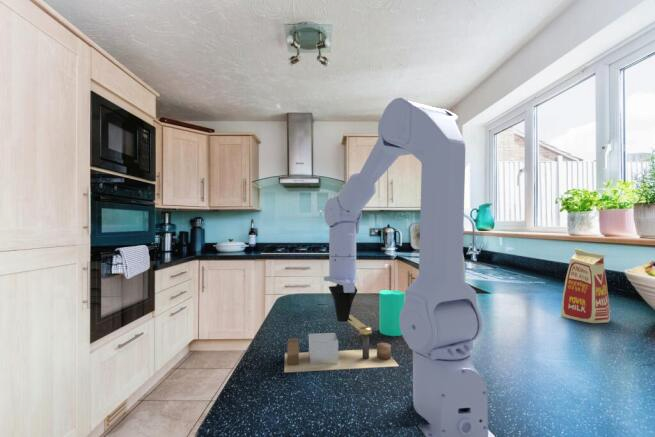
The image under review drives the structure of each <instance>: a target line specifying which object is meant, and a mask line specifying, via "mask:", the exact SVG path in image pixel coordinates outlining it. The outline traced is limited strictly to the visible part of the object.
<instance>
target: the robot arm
mask: <svg viewBox="0 0 655 437" xmlns="http://www.w3.org/2000/svg"><path fill="white" fill-rule="evenodd" d="M377 135H378V138H377V140H376V142H375V144H374V146H373V148H372V149H371V150H370V151H371V152H370V153H369V155H368V157H367V158H366V161H365V162H364V164H363V166H362V168H361V170H360V171H359V172H356V173H353V174H351V175H350V177H349V178H348V180H347V181H346V183H345V185H344V186H343V187H342V189H341V190H340V192H339V193H338V195H336V196H334V197H330V198H329V199H327V201H326V203H325V206H324V212H323V214H324V215H323V216H324V221H325V223H326V225H327V226H328V227H329V231H328V233H329V239H328V240H329V244H328V245H329V247H328V249H329V250H328V251H329V256H328V257H329V260H328V262H329V267H328V268H329V269H328V272H329V274H328V275H327V276H323V281H324V282H330V283H334V284H336V285H331V286H328V289H329V291H330V294H331V296H332V300H333V303H334V304H333V305H334V309H335V315H336V320H337V321H338V322H339V323H340V322H348V319H349V315H351V309H352V305H353V302H354V299H355V296H356V295H357V293H358V288H357V287H356V283H357V282H358V277H357V235H359V230H360V229H359V228H360V224H361V221H362V218H363V217H362V216H363V212H362V211H363V210H364V208H365V207H366V206H367V204H368V203H369V202H370V200H371V199H372V197H373V196H374V195H375V194H376V192H377V187H376V186H377V185H376V183H377V182H378V180H380V178H382V176H383V175H384V174H385V173H386V172H387V170H388V169H389V168H391V166H392V165H393V164H394V163H395V161H396V160H397V159H398V158H399V157H401V156H407V155H413V156H414V158H416V159H417V160H419V162H420V163H421V174H420V175H421V177H420V182H421V183H420V208H419V210H420V218H419V219H420V220H419V247H418V248H419V251H418V252H419V253H418V254H419V255H418V256H419V257H418V258H419V259H418V276H416V278H415V279H414V280H413V281H412V282H411V283H410V285H408V287H407V288H406V289H405V291H404V293H405V302H404V305H403V308H402V310H401V313H400V330H401V333H402V335H401V336H402V338H403V340H404V341H405V343H406V344H407V345H408V348H409V349H410V350H411V351H412V384H413V385H412V388H413V389H412V391H413V392H412V394H413V396H412V398H413V399H412V400H413V401H412V402H413V403H412V404H413V408H414V410H415V411H416V413H417V414H418V415H420V417H422V418H423V419H425V420H426V421H427V422H428V423H427V424H420V425H418V428H419V429H420V431H421V433H422V434H423V435H424V437H496V436H495V435H494V434H493V433H492V432H491V431H490V429H489V417H488V416H489V415H488V414H489V413H488V412H489V411H488V409H489V408H488V404H489V403H488V387H487V383H486V382H485V380H484V378H483V377H482V375H481V374H480V373H479V372H478V370H477V369H476V368H475V366H474V363H473V362H472V358H471V351H472V350H474V347H473V345H474V343H473V342H474V341H475V340H477V339H478V338H479V337H480V334H481V332H482V328H483V320H482V315H481V313H480V311H479V308H478V304H477V292H476V290H475V289H474V288H473V287H472V286H470V285H469V284H468V283H467V282H466V280H465V281H464V280H463V279H462V265H463V255H464V233H463V226H464V227H465V224H464V215H465V184H466V182H465V181H466V180H465V177H466V144H465V141H464V138H463V136H462V134H461V132H460V130H459V116H458V115H456V114H455V113H453V112H451V111H450V110H447V109H445V108H437V107H432V106H429V105H426V104H421V103H418V102H414V101H411V100H408V99H406V98H403V97H396V98H394V99H392V100H391V101H390V102H389V103H388V105H387V106H386V107H385V109H384V110H383V113H382V115H381V118H380V119H379V120H378V125H377Z"/></svg>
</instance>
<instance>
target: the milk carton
mask: <svg viewBox="0 0 655 437" xmlns="http://www.w3.org/2000/svg"><path fill="white" fill-rule="evenodd" d="M574 251H575V253H574V254H573V255H572V256H571V258H570V260H569V265H568V269H567V272H566V276H565V281H564V287H563V293H562V299H561V300H562V302H561V311H560V317H561V318H566V319H571V320H575V321H580V322H584V323H590V324H603V323H604V324H605V323H609V322H610V321H611V315H610V313H611V310H610V300H609V292H608V283H607V276H606V268H605V264H604V263H605V261H604V258H605V257H607V254H600V253H594V252H589V251H585V250H583V249H579V248H576V247H575V248H574Z"/></svg>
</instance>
